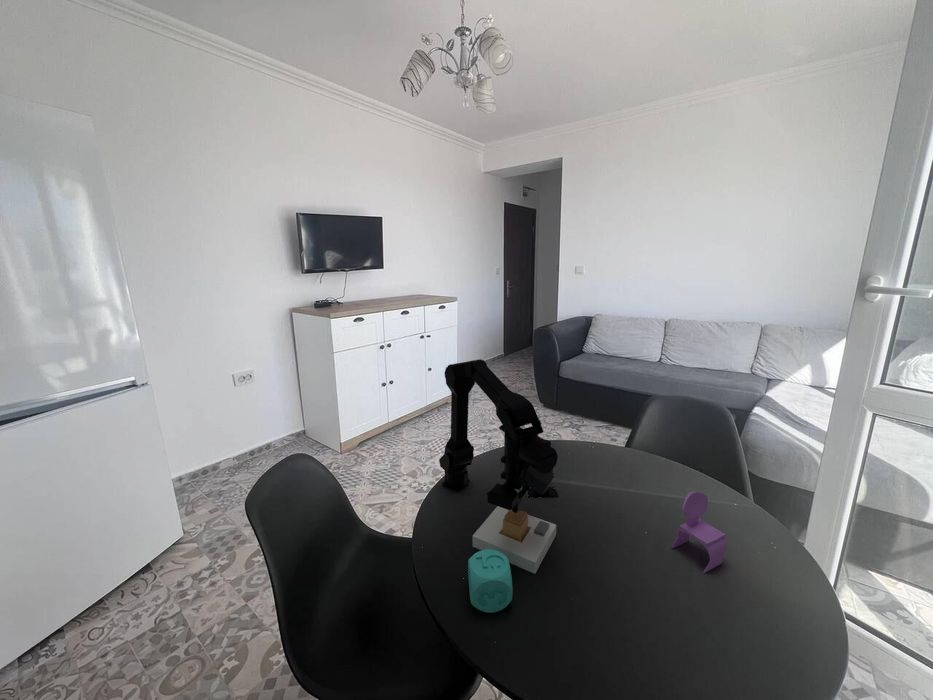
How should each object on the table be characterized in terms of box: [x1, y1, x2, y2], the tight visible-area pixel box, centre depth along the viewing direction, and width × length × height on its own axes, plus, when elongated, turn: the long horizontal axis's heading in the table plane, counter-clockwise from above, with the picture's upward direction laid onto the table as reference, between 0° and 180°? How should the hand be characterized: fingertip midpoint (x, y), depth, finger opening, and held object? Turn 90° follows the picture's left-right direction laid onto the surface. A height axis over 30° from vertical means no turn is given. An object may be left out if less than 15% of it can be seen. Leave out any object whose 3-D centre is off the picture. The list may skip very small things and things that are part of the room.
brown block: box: [503, 509, 529, 543], centre depth 92 cm, size 5×5×7 cm
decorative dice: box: [467, 549, 513, 614], centre depth 77 cm, size 8×8×8 cm
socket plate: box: [472, 506, 558, 575], centre depth 92 cm, size 16×14×4 cm
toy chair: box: [670, 491, 727, 574], centre depth 85 cm, size 8×9×15 cm
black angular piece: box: [527, 486, 560, 499], centre depth 111 cm, size 12×7×5 cm, turn 91°
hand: (515, 511), depth 91 cm, fingers closed
